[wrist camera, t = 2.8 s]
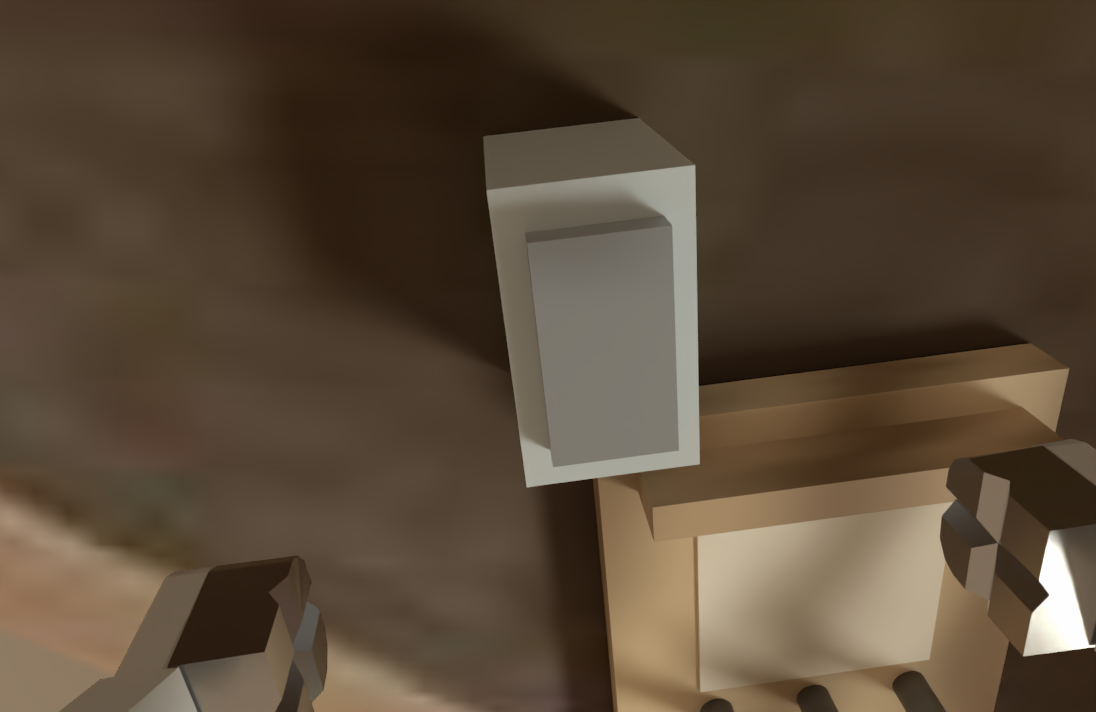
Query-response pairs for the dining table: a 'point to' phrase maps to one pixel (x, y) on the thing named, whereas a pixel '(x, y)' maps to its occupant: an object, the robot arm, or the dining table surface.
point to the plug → (597, 297)
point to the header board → (816, 541)
